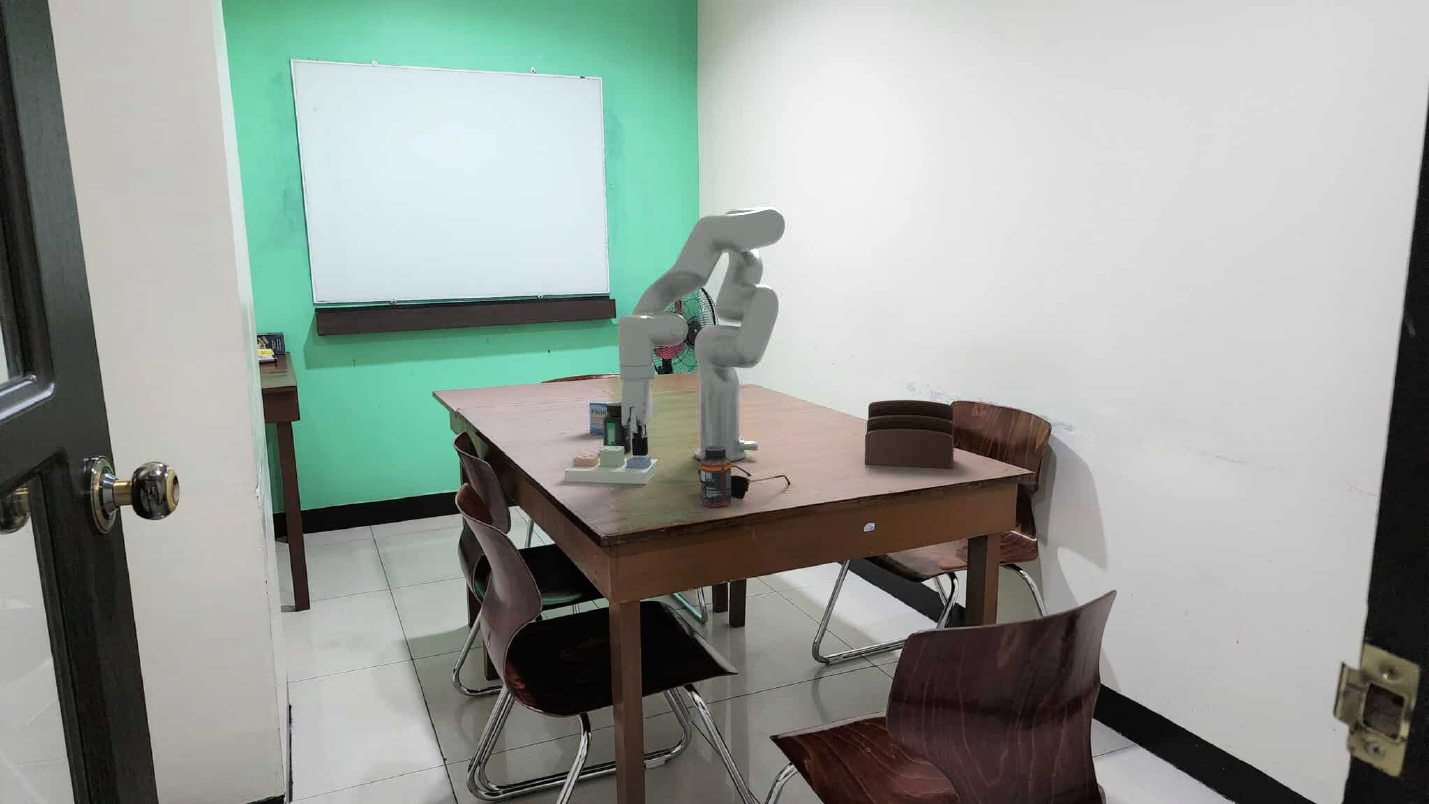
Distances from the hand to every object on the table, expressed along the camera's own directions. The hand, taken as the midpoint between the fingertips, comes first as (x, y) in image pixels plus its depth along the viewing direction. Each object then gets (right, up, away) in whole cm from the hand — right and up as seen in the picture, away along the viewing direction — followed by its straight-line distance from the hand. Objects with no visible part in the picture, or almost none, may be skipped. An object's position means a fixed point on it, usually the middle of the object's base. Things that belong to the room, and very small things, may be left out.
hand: (640, 454), depth 190 cm
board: (-6, -5, +1) cm, 8 cm away
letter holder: (+62, -3, +12) cm, 63 cm away
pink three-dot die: (-12, -4, +2) cm, 13 cm away
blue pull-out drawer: (0, -5, 0) cm, 5 cm away
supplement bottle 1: (-8, -1, +25) cm, 26 cm away
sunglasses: (+23, -7, -9) cm, 26 cm away
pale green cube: (-6, -3, +1) cm, 7 cm away
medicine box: (-13, +3, +47) cm, 49 cm away
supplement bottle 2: (+17, -9, -21) cm, 28 cm away
